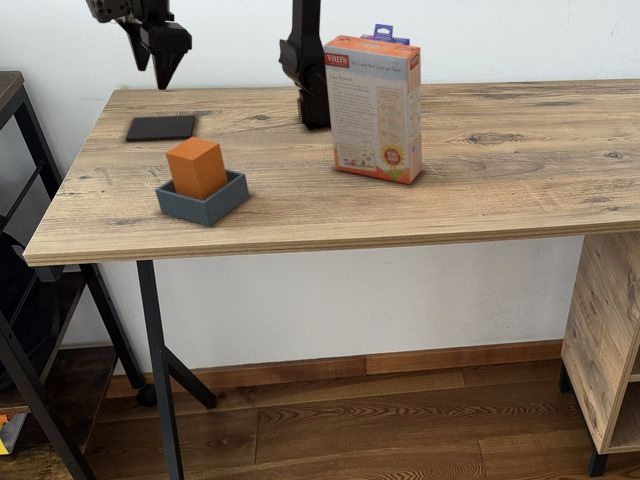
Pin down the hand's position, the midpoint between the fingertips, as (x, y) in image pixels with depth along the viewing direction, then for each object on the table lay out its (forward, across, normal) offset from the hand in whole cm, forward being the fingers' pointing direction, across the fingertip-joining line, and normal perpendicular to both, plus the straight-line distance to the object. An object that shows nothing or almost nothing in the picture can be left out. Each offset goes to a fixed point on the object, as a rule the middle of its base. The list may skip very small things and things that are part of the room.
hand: (151, 80), depth 108 cm
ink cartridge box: (+4, -2, +46) cm, 46 cm away
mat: (+13, -13, +6) cm, 19 cm away
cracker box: (+7, +22, +30) cm, 38 cm away
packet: (+13, +17, +2) cm, 22 cm away
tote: (+14, +17, +2) cm, 22 cm away
